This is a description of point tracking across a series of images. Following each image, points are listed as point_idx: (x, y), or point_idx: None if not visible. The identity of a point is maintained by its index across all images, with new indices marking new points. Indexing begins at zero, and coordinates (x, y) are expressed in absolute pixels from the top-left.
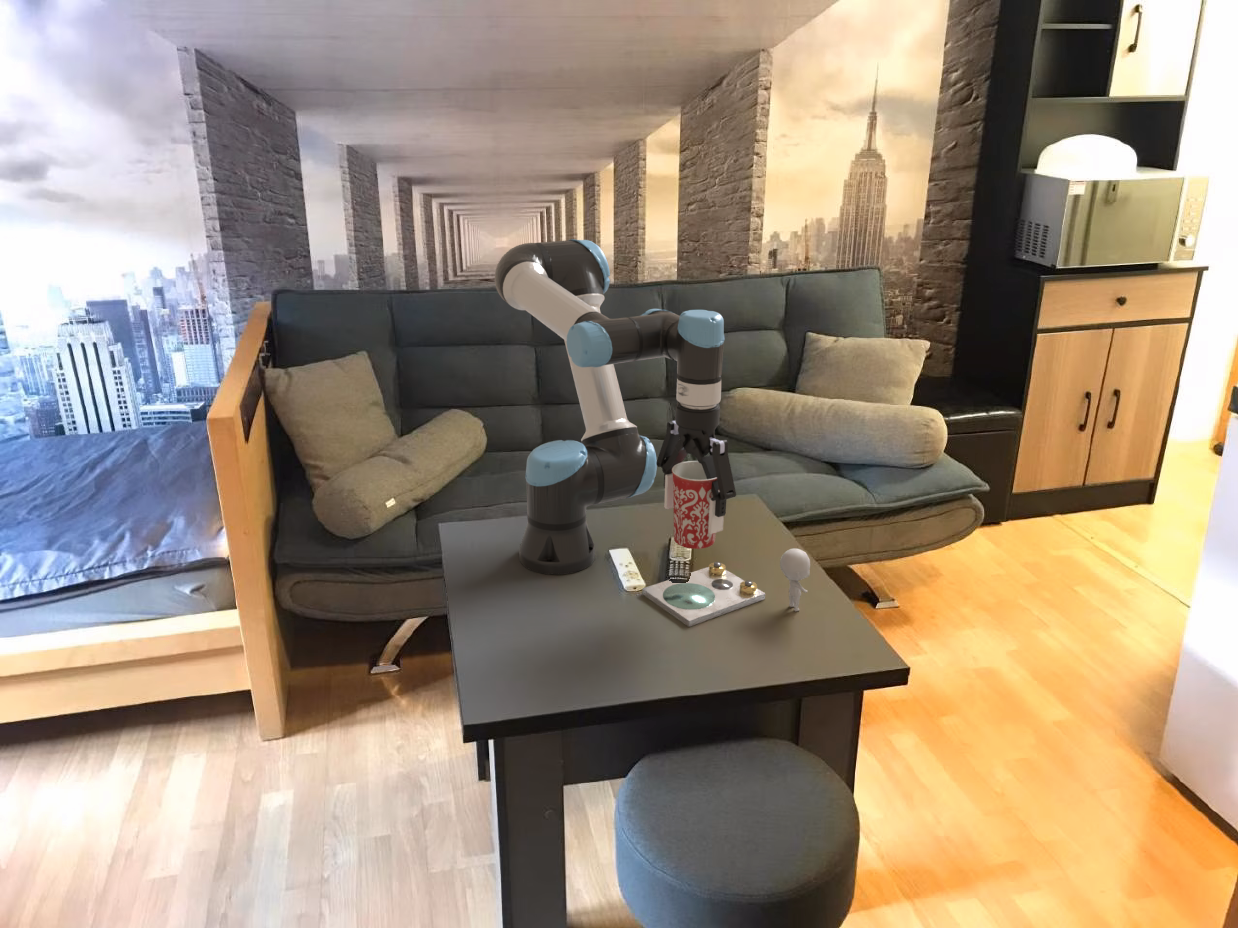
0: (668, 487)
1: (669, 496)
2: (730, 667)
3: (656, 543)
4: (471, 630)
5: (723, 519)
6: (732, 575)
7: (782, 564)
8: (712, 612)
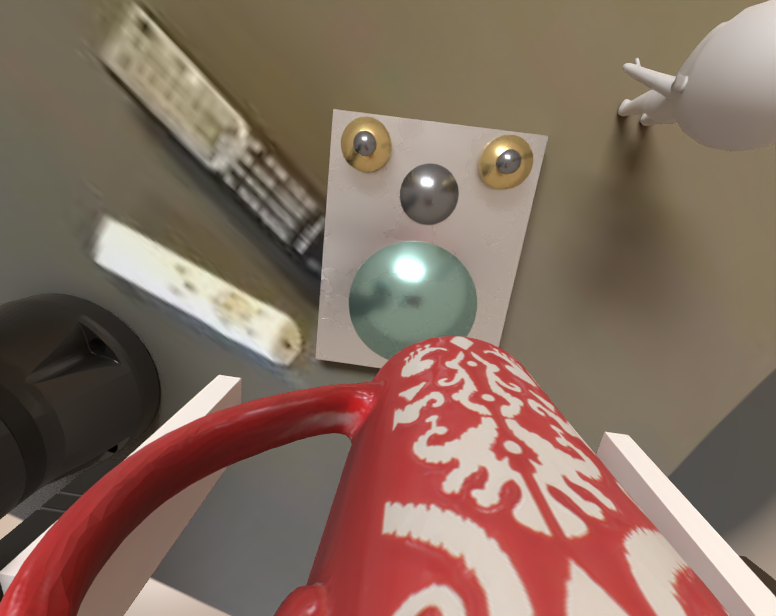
0: (157, 558)
1: (201, 488)
2: (645, 424)
3: (117, 130)
4: (246, 611)
5: (675, 487)
6: (413, 128)
7: (724, 142)
8: (504, 321)
